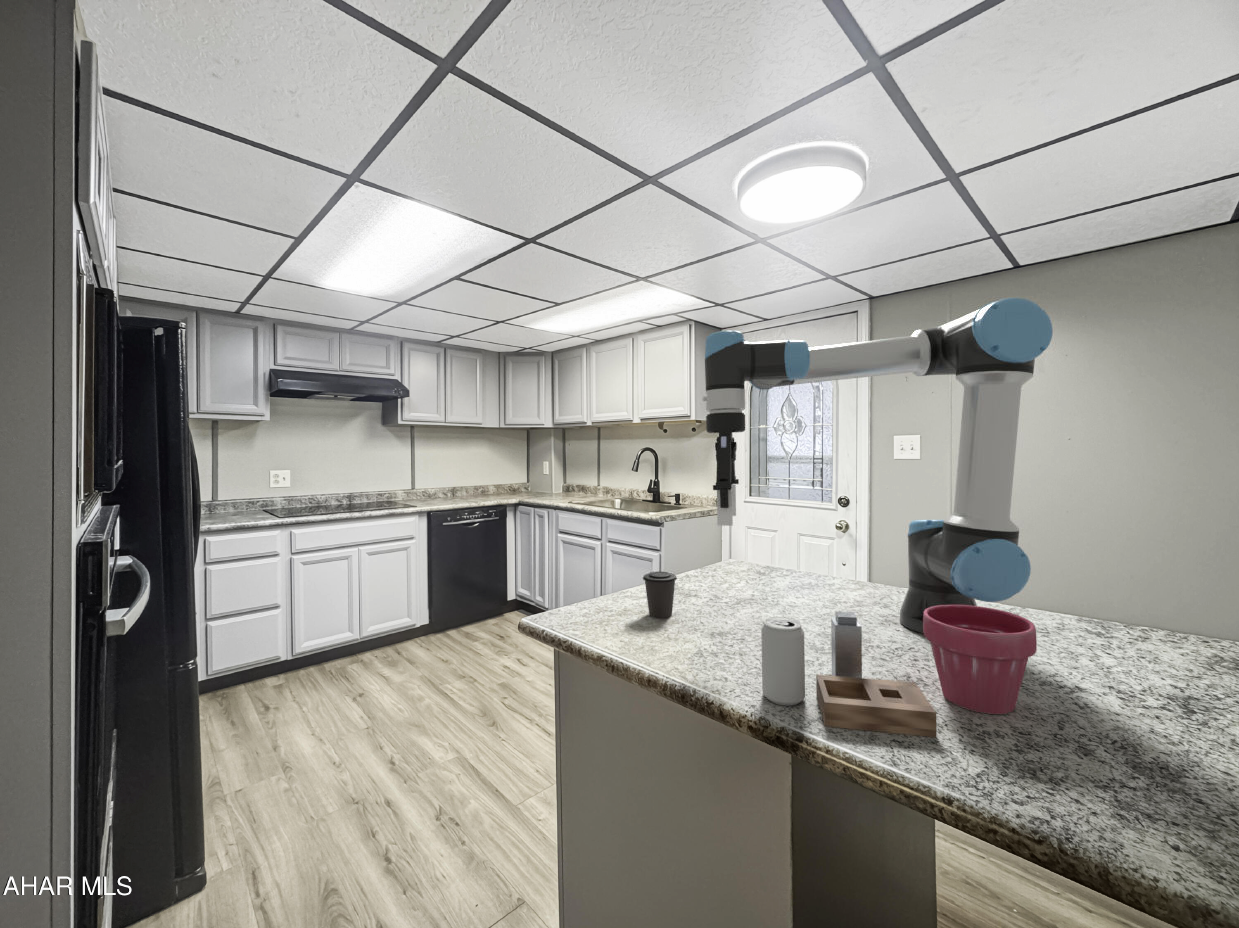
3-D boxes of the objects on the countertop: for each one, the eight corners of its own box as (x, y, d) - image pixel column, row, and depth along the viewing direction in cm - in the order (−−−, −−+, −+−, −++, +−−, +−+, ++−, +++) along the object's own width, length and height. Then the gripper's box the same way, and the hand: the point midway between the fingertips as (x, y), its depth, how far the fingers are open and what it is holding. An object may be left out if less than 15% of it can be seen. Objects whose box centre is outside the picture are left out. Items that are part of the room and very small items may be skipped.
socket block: (915, 704, 78) (915, 682, 78) (936, 737, 69) (936, 712, 69) (816, 695, 81) (816, 674, 81) (824, 726, 72) (824, 702, 72)
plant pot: (905, 679, 86) (905, 603, 86) (991, 678, 86) (991, 602, 85) (959, 725, 72) (959, 634, 71) (1062, 724, 71) (1063, 633, 71)
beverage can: (799, 712, 76) (798, 631, 76) (756, 701, 80) (755, 624, 79) (809, 694, 82) (808, 619, 81) (768, 685, 85) (767, 613, 85)
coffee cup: (644, 609, 126) (644, 568, 126) (678, 610, 125) (677, 569, 125) (641, 620, 118) (640, 577, 118) (677, 621, 117) (676, 577, 117)
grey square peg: (856, 676, 87) (856, 611, 87) (862, 687, 84) (861, 619, 83) (831, 674, 88) (831, 610, 88) (835, 685, 85) (834, 617, 84)
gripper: (711, 416, 114) (713, 512, 115) (698, 409, 90) (701, 529, 91) (746, 415, 112) (748, 512, 113) (742, 407, 88) (745, 530, 89)
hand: (727, 520), depth 102 cm, fingers open, 13 cm apart
